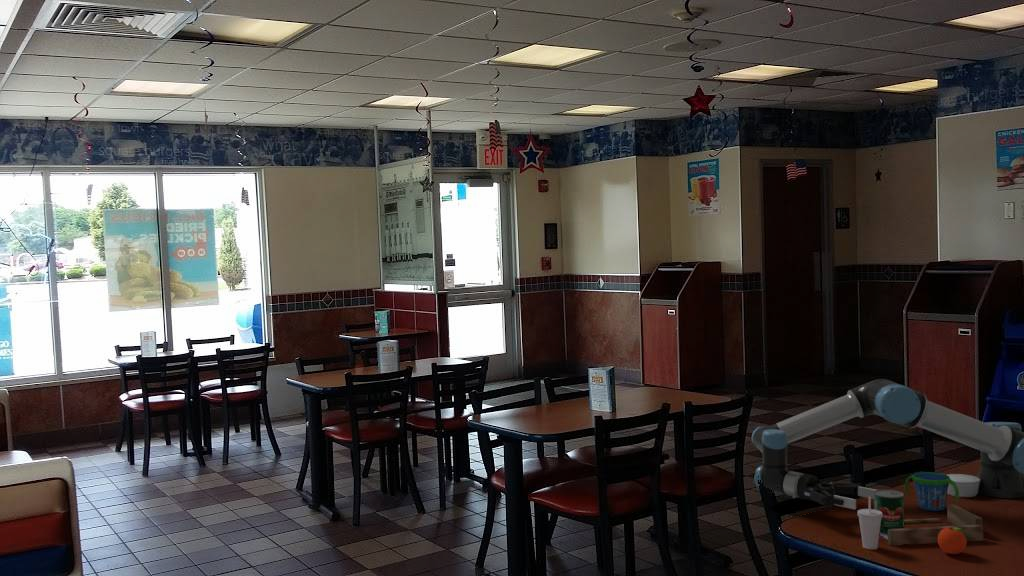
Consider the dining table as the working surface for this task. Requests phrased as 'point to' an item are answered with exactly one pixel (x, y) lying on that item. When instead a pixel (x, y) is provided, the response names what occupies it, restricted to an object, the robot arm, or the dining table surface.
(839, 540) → the dining table surface
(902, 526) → the canned tomato
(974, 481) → the ramekin
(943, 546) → the clementine
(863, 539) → the smoothie
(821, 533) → the dining table surface
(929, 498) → the snack cup
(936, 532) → the bay
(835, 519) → the dining table surface
